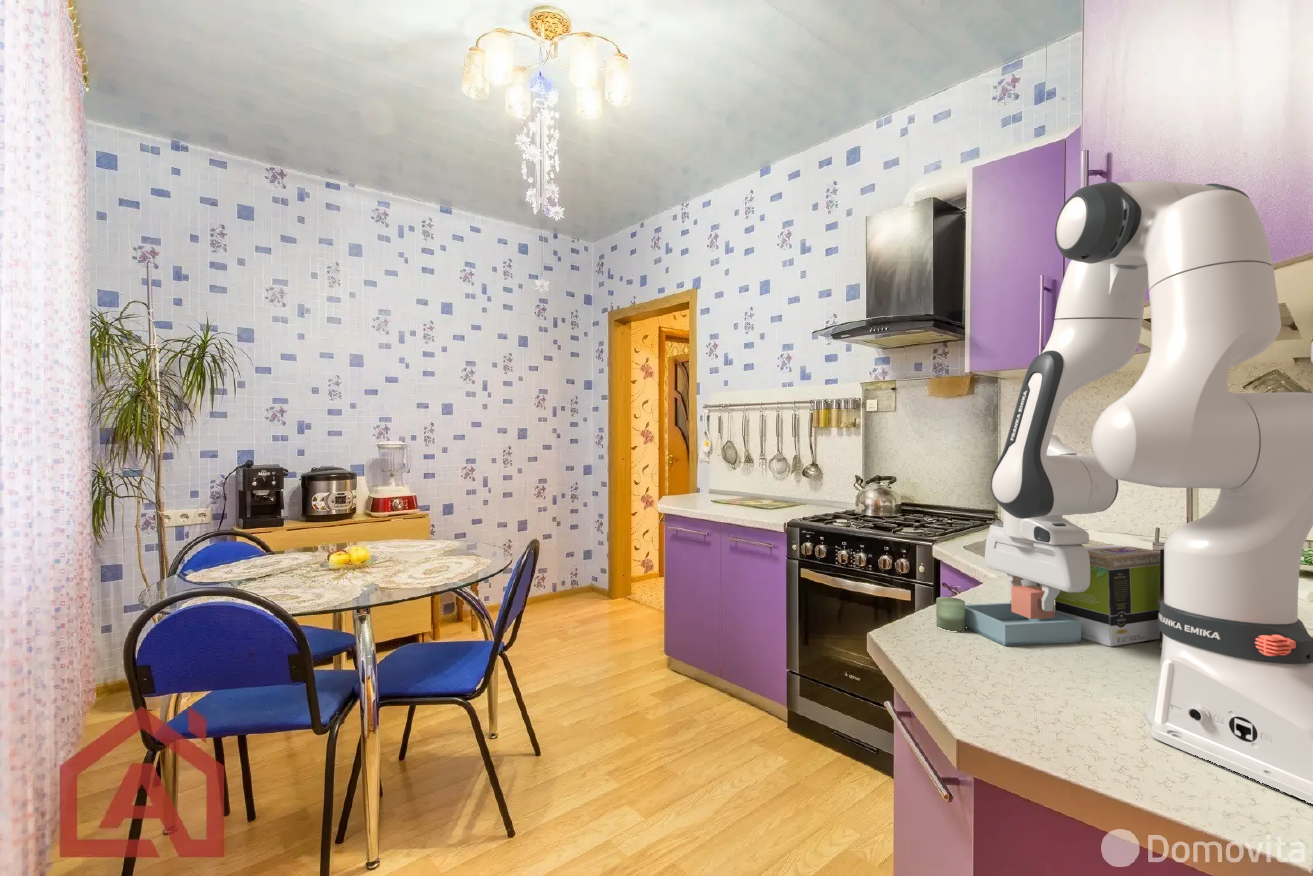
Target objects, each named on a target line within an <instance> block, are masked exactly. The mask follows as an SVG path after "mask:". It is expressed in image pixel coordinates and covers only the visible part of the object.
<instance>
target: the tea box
mask: <svg viewBox="0 0 1313 876" xmlns="http://www.w3.org/2000/svg"><path fill="white" fill-rule="evenodd" d="M1083 546H1084V545H1083ZM1084 547H1085V548H1086V549H1087V551H1088V553H1089V557H1090V586H1089V587H1088V589H1087V590H1086V591H1085V592H1065V591H1062V590H1060V592H1059V594H1058V595H1057V597H1056V599H1055V600H1054V612H1056V613H1059V614H1062V615H1065V616H1068V617H1070V618H1073V619H1076V620H1079V621H1081V639H1083V640H1086V641H1090V642H1093V643H1096V644H1100V645H1103V646H1107V647H1116V646H1123V645H1128V644H1134V643H1135V644H1136V643H1141V642H1146V641H1152V640H1153V641H1155V640H1160V630H1159V619H1158V617H1159V609H1160V550H1154V549H1149V548H1148V549H1147V548H1142V547H1136V546H1128V545H1120V544H1114V543H1105V544H1098V545H1097V544H1095V545H1088V546H1087V545H1086V546H1084Z"/></svg>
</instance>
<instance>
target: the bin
mask: <svg viewBox="0 0 1313 876" xmlns="http://www.w3.org/2000/svg"><path fill="white" fill-rule="evenodd" d="M965 627H967V628H969V629H970V631H971V630H972V631H971V632H973V631H974V632H973V633H976V632H977V633H976V634H978V635H980V636H983V637H985V638H987V639H989V640H991V641H992V642H995V643H997V644H999V645H1002V646H1003V647H1017V646H1018V647H1019V646H1037V645H1055V644H1056V645H1057V644H1059V645H1060V644H1072V643H1073V644H1074V643H1076V644H1077V643H1082V638H1081V621H1079V620H1076V619H1073V618H1070V617H1068V616H1065V615H1062V614H1059V613H1056V612H1055V611H1054V618H1042V619H1029V618H1027V617H1024V616H1022V615H1019V614H1016V613H1014V612H1011V603H1010V602H991V603H990V602H989V603H972V604H971V603H970V604H969V603H965ZM967 628H966V629H967ZM969 629H968V630H969Z"/></svg>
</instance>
